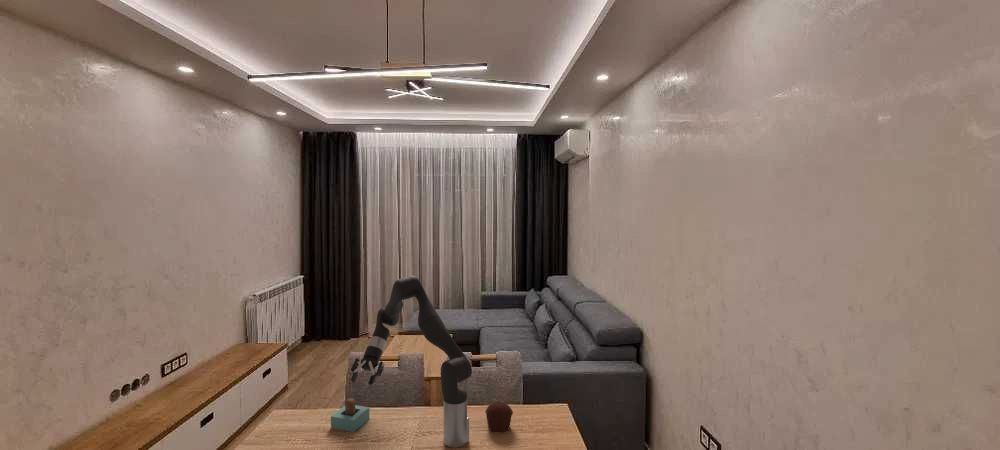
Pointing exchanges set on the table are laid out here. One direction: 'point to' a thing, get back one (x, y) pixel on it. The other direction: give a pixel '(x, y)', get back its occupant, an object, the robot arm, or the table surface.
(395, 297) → the robot arm
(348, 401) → the peg
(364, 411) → the socket block
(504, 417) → the muffin
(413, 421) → the table surface
